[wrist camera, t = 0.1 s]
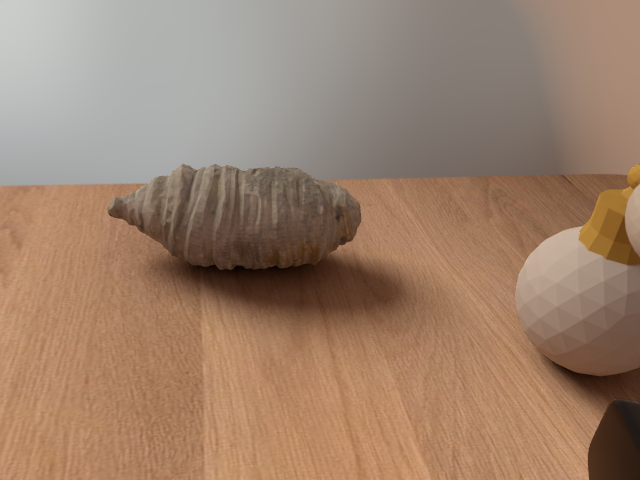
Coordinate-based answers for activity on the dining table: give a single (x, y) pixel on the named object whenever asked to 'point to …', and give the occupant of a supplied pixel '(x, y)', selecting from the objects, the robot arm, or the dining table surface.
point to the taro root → (242, 216)
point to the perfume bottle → (588, 289)
